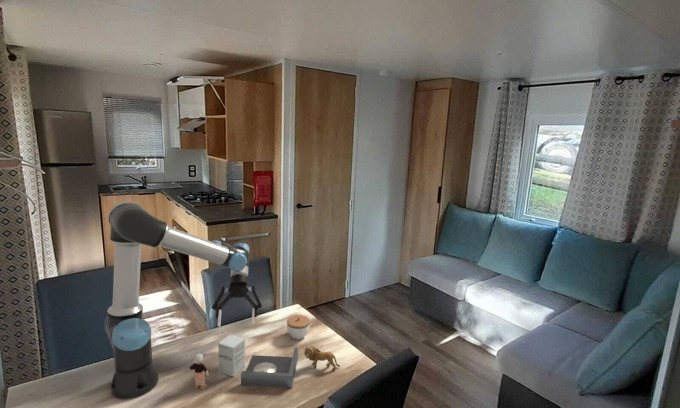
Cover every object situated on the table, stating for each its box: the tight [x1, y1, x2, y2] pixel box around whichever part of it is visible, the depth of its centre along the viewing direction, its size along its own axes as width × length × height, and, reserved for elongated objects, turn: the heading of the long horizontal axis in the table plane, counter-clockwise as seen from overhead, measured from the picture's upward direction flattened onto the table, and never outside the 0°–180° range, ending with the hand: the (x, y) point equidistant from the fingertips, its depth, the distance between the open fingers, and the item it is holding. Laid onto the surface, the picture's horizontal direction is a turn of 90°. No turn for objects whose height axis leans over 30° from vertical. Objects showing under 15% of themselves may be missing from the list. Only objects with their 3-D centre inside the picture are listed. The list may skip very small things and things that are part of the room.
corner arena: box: [240, 347, 299, 389], centre depth 142 cm, size 19×18×5 cm
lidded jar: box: [286, 314, 311, 340], centre depth 167 cm, size 11×11×9 cm
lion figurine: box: [303, 345, 341, 371], centre depth 146 cm, size 15×5×9 cm, turn 93°
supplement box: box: [218, 334, 246, 378], centre depth 141 cm, size 7×7×13 cm
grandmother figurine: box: [188, 353, 209, 390], centre depth 131 cm, size 8×4×13 cm, turn 90°
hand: (236, 325), depth 148 cm, fingers open, 13 cm apart
